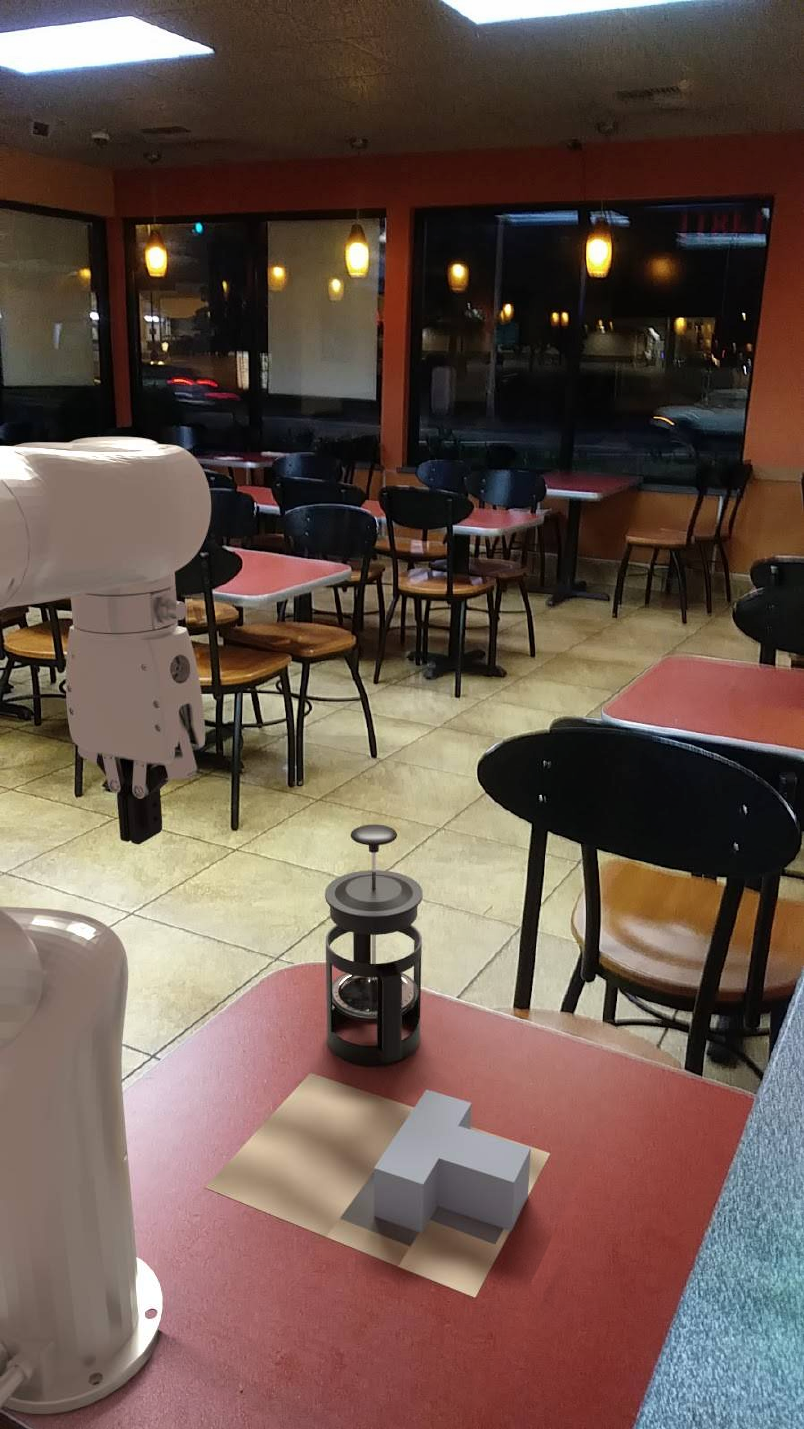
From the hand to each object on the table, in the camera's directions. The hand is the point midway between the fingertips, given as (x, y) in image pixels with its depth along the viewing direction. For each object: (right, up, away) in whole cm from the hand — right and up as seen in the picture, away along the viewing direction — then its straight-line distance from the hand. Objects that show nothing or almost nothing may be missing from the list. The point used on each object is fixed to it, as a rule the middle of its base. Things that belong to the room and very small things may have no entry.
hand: (141, 835), depth 85 cm
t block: (+25, -28, -1) cm, 38 cm away
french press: (+18, -23, +18) cm, 34 cm away
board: (+19, -28, +2) cm, 34 cm away
